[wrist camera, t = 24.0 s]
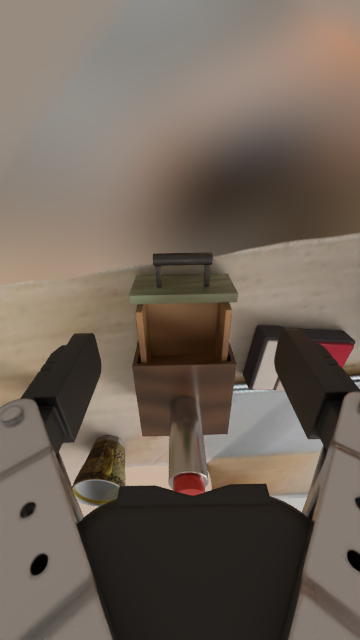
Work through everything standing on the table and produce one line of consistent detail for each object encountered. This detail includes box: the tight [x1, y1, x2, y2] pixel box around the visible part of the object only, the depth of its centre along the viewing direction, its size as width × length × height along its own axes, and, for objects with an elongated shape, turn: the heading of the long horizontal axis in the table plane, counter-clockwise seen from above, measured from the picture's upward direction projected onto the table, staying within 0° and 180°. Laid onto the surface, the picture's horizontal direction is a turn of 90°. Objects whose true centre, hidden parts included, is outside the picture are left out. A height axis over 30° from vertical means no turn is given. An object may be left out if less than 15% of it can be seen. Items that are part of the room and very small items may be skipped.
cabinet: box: [132, 339, 236, 436], centre depth 42 cm, size 15×14×8 cm
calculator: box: [243, 325, 355, 391], centre depth 43 cm, size 11×4×15 cm
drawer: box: [129, 253, 238, 364], centre depth 35 cm, size 18×13×7 cm
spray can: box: [169, 396, 208, 496], centre depth 33 cm, size 5×5×12 cm
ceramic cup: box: [72, 435, 125, 506], centre depth 51 cm, size 13×10×10 cm
